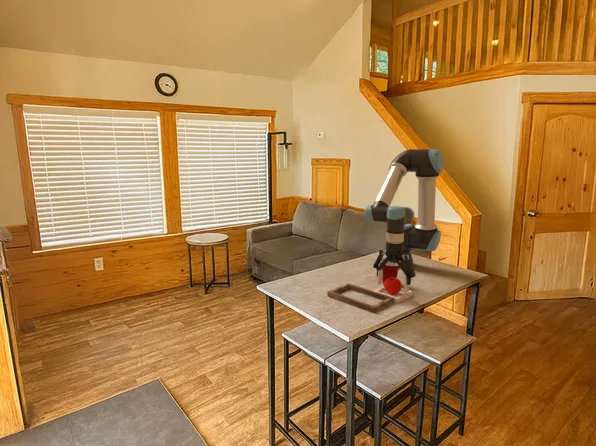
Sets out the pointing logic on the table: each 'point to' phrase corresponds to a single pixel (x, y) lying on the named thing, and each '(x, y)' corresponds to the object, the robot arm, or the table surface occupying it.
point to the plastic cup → (389, 270)
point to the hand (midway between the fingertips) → (392, 287)
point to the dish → (398, 296)
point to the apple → (392, 285)
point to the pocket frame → (357, 303)
